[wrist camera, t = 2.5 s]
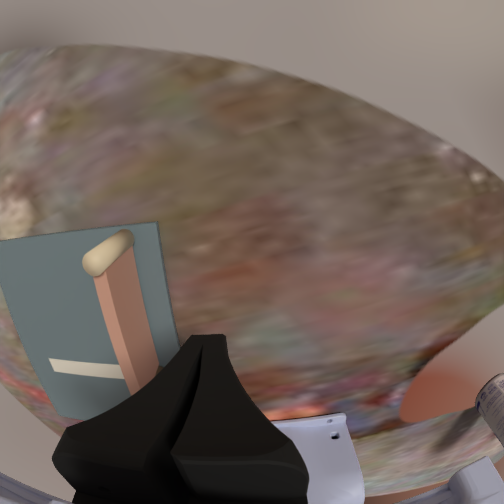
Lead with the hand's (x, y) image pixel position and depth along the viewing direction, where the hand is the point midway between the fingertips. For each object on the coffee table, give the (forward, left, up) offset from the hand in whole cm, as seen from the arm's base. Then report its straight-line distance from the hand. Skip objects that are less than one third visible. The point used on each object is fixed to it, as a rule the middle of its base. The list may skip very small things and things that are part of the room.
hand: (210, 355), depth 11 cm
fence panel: (+6, +1, -7) cm, 9 cm away
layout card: (+11, +5, -8) cm, 14 cm away
